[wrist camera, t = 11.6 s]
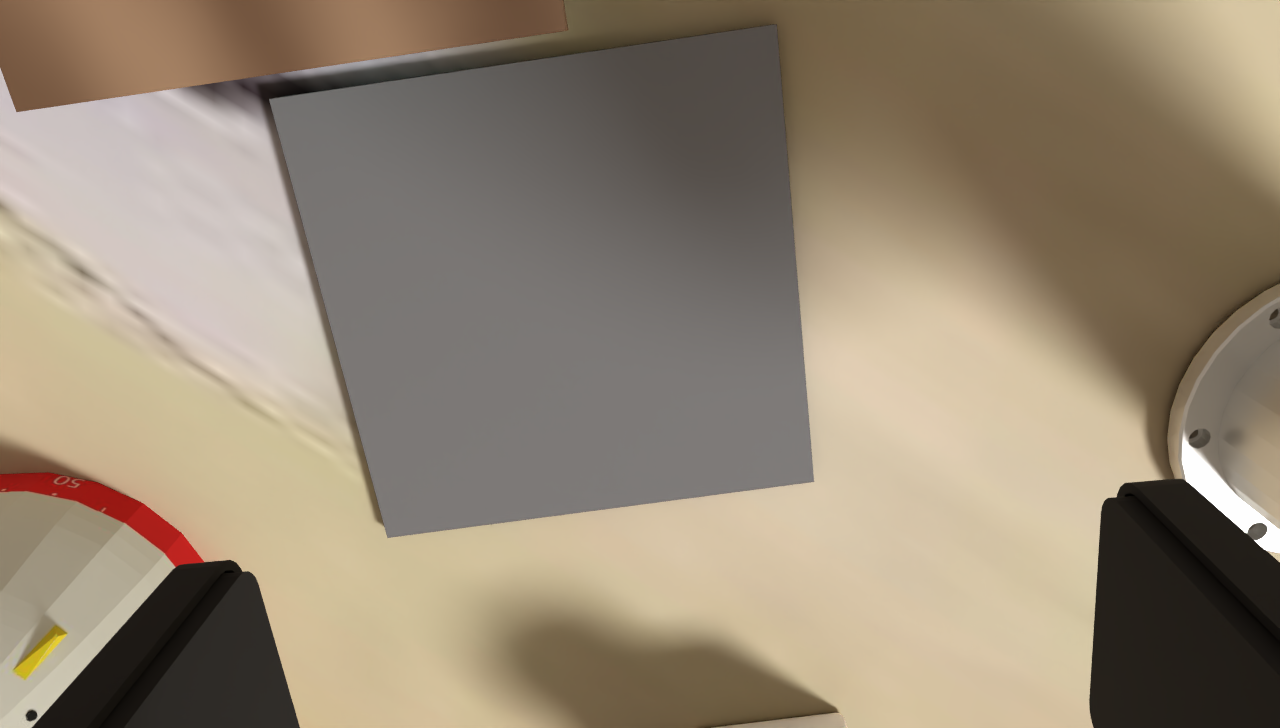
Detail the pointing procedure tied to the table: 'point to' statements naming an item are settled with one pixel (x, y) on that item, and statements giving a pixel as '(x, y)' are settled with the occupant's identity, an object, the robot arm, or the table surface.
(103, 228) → the table surface
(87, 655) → the kitchen timer
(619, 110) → the mat
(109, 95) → the lid
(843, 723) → the medicine bottle
